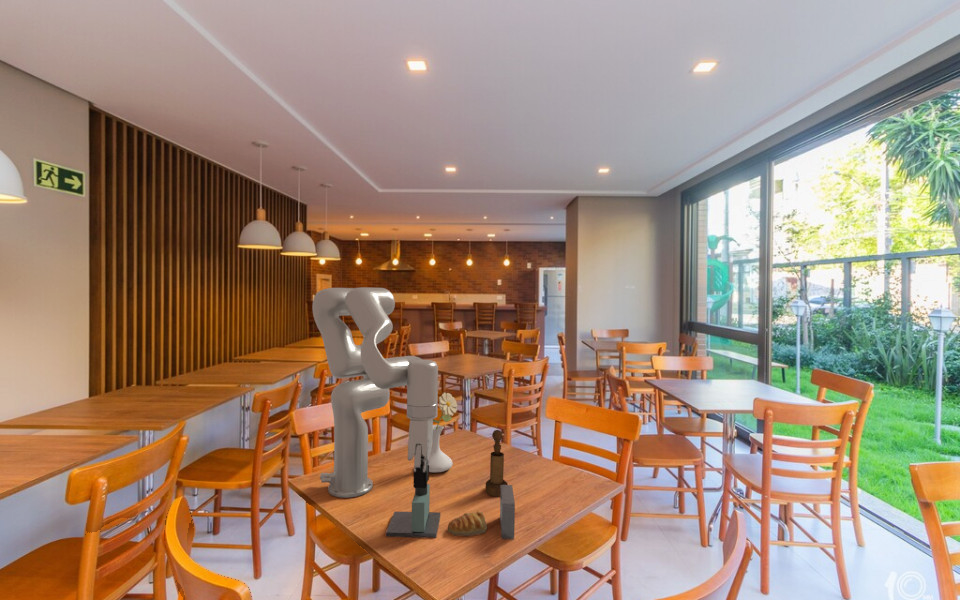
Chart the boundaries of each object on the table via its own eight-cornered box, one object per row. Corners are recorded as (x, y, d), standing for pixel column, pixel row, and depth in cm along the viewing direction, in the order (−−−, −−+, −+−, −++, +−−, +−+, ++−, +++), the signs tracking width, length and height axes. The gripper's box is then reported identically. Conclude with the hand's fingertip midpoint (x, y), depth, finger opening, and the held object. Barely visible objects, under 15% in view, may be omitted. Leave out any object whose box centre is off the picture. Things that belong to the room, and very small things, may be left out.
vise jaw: (411, 531, 104) (412, 464, 104) (417, 510, 114) (418, 449, 114) (424, 531, 104) (424, 464, 104) (429, 511, 114) (430, 449, 114)
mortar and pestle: (505, 497, 125) (506, 434, 125) (483, 495, 126) (484, 433, 126) (508, 487, 131) (509, 427, 131) (487, 485, 133) (488, 426, 132)
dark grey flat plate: (385, 536, 104) (385, 532, 104) (394, 515, 114) (394, 511, 114) (436, 537, 104) (436, 533, 104) (440, 516, 114) (440, 512, 114)
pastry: (452, 541, 103) (452, 525, 103) (443, 527, 109) (444, 512, 109) (489, 533, 106) (489, 518, 106) (478, 520, 113) (479, 505, 113)
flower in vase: (425, 478, 137) (426, 399, 136) (412, 465, 147) (413, 391, 146) (463, 471, 143) (464, 394, 143) (448, 459, 153) (449, 388, 153)
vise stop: (501, 538, 104) (502, 503, 104) (500, 517, 114) (500, 484, 114) (514, 539, 104) (514, 503, 104) (511, 517, 114) (512, 485, 114)
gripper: (412, 401, 117) (411, 470, 117) (400, 419, 100) (399, 499, 101) (440, 402, 117) (439, 471, 117) (433, 420, 100) (432, 500, 101)
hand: (421, 483), depth 109 cm, fingers closed on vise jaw, 3 cm apart
